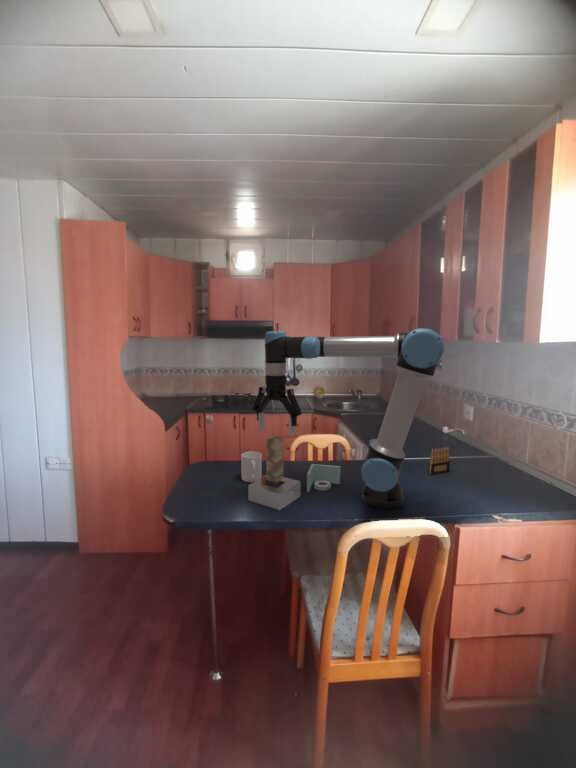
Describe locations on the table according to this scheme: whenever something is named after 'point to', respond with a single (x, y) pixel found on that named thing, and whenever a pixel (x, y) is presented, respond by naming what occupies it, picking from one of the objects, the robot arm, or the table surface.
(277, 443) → the column
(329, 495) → the table surface
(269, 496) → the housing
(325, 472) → the right angle wall
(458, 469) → the table surface
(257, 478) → the mug
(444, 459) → the ammunition clip
